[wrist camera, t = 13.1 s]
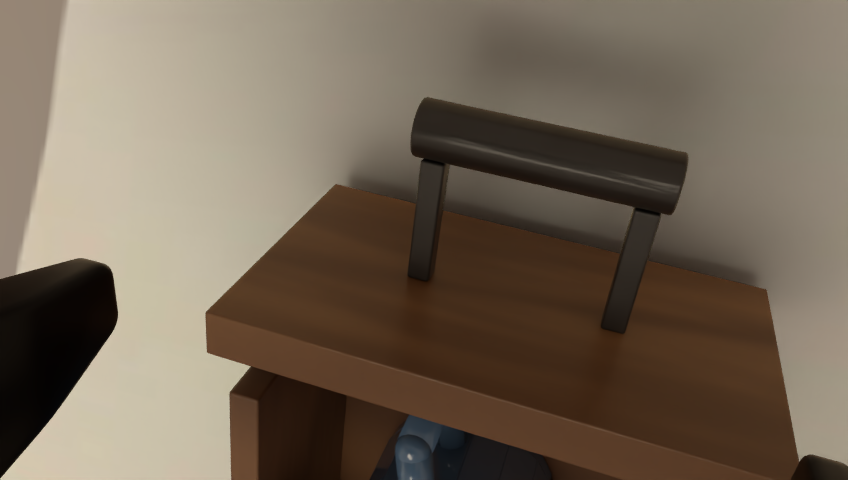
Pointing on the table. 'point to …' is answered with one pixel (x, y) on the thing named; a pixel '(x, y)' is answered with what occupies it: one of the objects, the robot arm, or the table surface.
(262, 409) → the drawer
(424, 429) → the mug
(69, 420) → the table surface
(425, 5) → the table surface
